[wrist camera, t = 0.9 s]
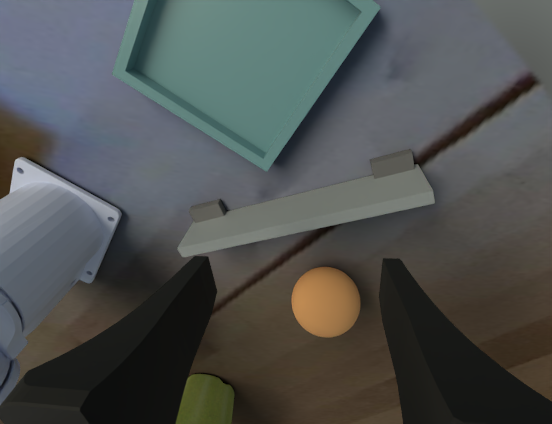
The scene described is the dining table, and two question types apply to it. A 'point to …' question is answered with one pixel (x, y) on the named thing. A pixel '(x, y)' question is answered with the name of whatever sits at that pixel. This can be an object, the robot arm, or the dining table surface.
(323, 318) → the ball
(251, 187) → the dining table surface
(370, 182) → the wall
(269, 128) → the tray
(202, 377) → the plant pot
